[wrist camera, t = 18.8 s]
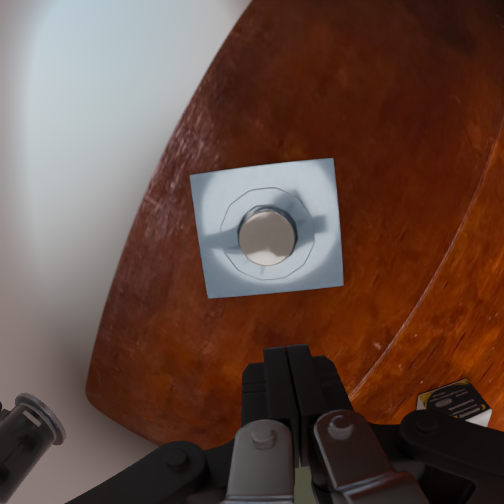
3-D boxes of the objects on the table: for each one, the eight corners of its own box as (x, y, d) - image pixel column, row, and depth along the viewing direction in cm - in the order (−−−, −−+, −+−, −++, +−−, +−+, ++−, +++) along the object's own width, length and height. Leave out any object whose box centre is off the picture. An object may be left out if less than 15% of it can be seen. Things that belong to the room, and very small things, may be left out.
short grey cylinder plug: (245, 261, 22) (242, 269, 20) (239, 211, 22) (235, 214, 20) (295, 256, 22) (297, 263, 20) (290, 206, 21) (291, 208, 19)
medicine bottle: (467, 376, 28) (513, 436, 16) (457, 416, 30) (493, 476, 18) (417, 393, 29) (456, 465, 17) (411, 433, 30) (439, 500, 19)
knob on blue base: (215, 287, 28) (202, 308, 23) (199, 176, 26) (181, 174, 21) (337, 275, 27) (348, 294, 22) (327, 160, 25) (338, 155, 20)
